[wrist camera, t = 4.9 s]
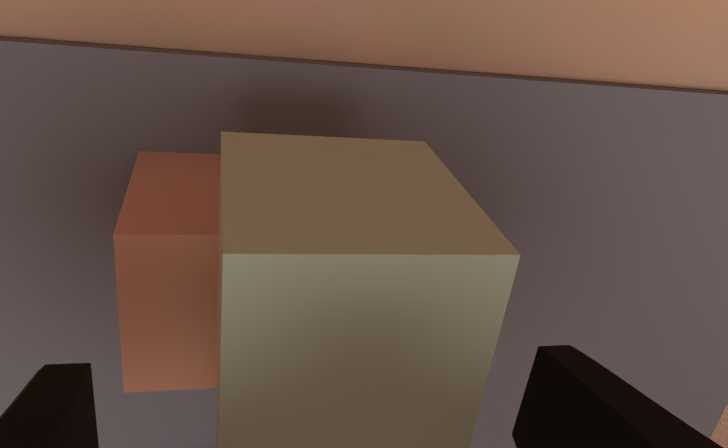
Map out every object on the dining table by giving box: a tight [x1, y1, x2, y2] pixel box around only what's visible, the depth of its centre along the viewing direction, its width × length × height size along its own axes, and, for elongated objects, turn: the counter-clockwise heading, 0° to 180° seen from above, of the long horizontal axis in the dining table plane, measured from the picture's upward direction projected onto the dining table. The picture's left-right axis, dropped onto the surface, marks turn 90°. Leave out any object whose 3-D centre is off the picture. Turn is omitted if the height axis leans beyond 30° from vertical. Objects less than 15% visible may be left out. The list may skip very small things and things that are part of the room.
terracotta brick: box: [113, 151, 221, 393], centre depth 14 cm, size 7×4×4 cm, turn 83°
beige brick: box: [215, 132, 520, 448], centre depth 10 cm, size 7×4×4 cm, turn 173°
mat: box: [0, 36, 728, 448], centre depth 19 cm, size 17×24×1 cm
